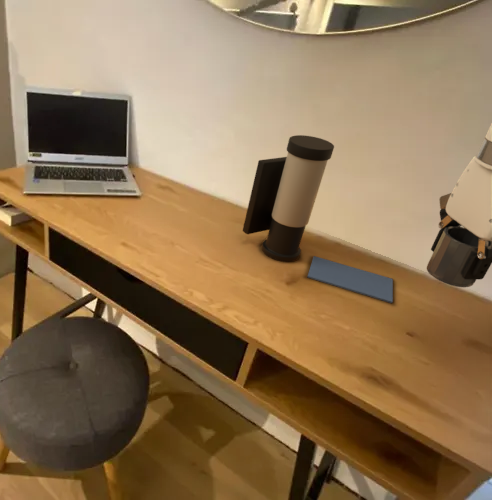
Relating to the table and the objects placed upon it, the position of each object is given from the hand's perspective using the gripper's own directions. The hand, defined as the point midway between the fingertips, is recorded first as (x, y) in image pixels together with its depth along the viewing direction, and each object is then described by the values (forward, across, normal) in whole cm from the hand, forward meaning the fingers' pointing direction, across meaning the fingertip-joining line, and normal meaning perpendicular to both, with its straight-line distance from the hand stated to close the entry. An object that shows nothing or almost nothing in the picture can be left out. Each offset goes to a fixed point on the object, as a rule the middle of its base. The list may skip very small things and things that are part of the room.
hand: (455, 263), depth 75 cm
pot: (+2, 0, 0) cm, 2 cm away
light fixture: (+15, +28, +16) cm, 36 cm away
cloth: (+15, +17, +4) cm, 23 cm away
